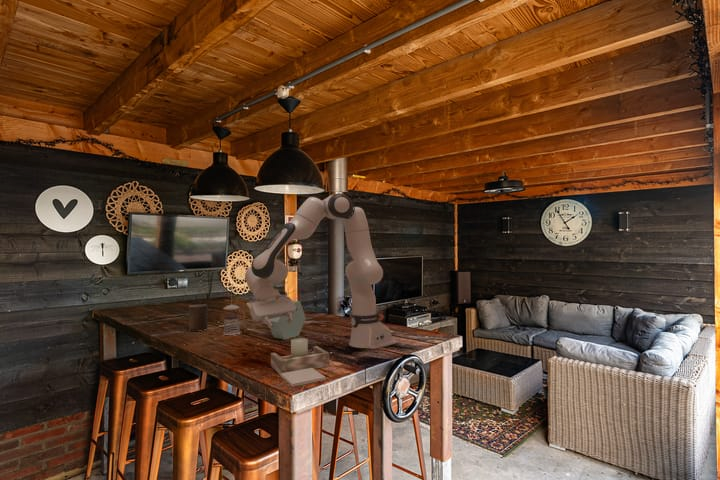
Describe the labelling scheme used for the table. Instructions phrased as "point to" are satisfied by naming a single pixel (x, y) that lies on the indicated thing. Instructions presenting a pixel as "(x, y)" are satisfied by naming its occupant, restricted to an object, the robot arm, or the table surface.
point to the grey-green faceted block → (289, 330)
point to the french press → (228, 320)
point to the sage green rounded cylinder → (299, 347)
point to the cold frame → (300, 361)
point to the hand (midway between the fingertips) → (281, 324)
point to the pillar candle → (198, 317)
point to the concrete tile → (302, 377)
